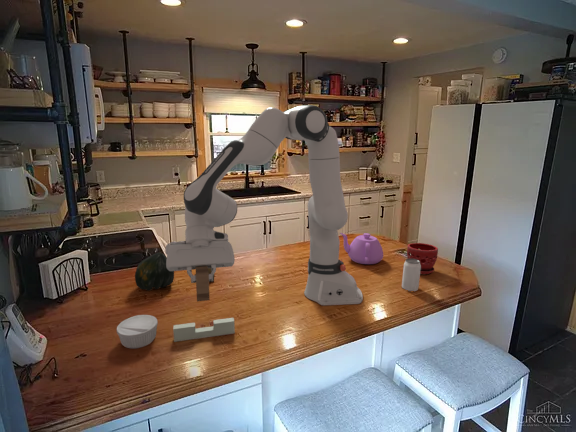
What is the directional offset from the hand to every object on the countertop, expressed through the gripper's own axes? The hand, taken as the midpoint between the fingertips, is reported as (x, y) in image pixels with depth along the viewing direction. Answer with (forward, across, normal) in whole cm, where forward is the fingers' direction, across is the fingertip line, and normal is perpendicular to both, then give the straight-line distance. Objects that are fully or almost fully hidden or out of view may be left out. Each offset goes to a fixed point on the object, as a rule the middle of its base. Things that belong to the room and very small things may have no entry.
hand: (202, 281), depth 102 cm
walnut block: (+3, 0, +3) cm, 4 cm away
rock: (-18, +2, +43) cm, 47 cm away
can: (+3, +83, +22) cm, 86 cm away
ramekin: (+11, -19, +14) cm, 26 cm away
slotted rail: (+13, 0, +12) cm, 18 cm away
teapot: (-22, +78, +46) cm, 93 cm away
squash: (-15, -17, +41) cm, 47 cm away
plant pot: (-8, +99, +32) cm, 104 cm away
